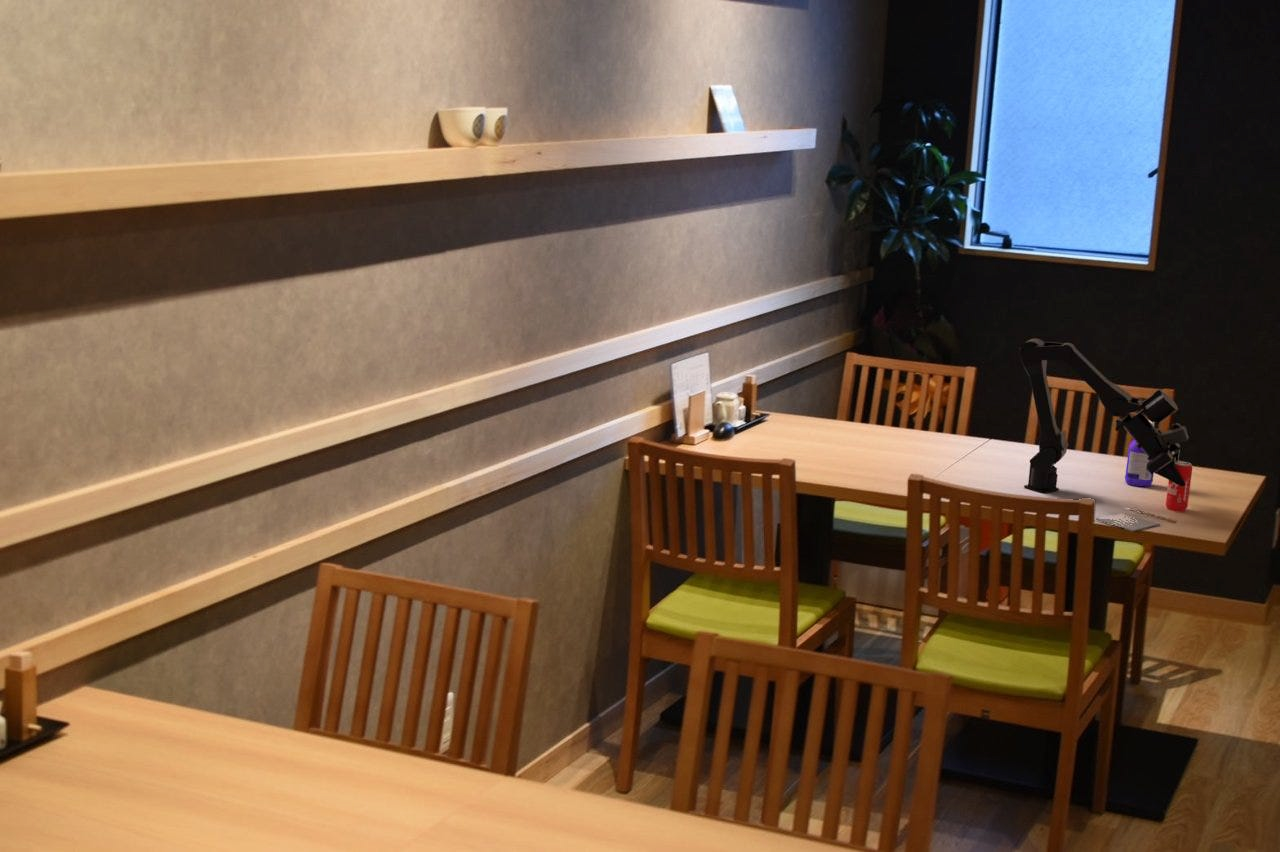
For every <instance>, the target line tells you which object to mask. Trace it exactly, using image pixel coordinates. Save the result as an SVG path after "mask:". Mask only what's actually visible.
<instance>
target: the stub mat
mask: <svg viewBox="0 0 1280 852" xmlns="http://www.w3.org/2000/svg"><path fill="white" fill-rule="evenodd" d="M1126 514H1127V513H1125V515H1126ZM1128 515H1130V516H1132V517H1131V518H1130V519H1132V520H1134V521H1132V520H1130V521H1132V522H1134V523H1131V522H1129V521H1128V520H1126V521H1128V522H1129V523H1127V522H1125V524H1123V523H1122V522H1124V521H1122V520H1121V519H1119V520H1121V521H1122V522H1120V521H1117V520H1113V519H1112V520H1110V519H1099V517H1095V518H1096V520H1098V521H1102V522H1105V523H1109V524H1113V523H1116V522H1114V521H1117V522H1120V523H1121V524H1122V525H1124V526H1122V525H1121V524H1119V523H1116V524H1117V526H1120V527H1122V528H1124V529H1123V530H1125V531H1129V532H1131V533H1134V532H1138V531H1141V530H1140V529H1142V530H1145V529H1144V528H1147V529H1149V528H1148V527H1151V528H1153V527H1152V526H1155V527H1159V526H1161V523H1160V522H1156V521H1152V520H1149V519H1145V518H1143V517H1139V516H1136V515H1131V514H1128ZM1128 515H1127V516H1128ZM1130 516H1129V517H1130ZM1125 517H1126V516H1125ZM1125 517H1124V518H1125ZM1129 517H1128V518H1129ZM1133 517H1135V518H1134V519H1133ZM1135 519H1136V520H1137V522H1138V523H1137V522H1135V521H1136V520H1135ZM1098 521H1097V522H1098ZM1105 523H1104V524H1105ZM1116 524H1113V525H1116ZM1126 524H1127V525H1126ZM1130 524H1132V525H1130ZM1128 525H1129V526H1128ZM1158 525H1159V526H1158Z"/></svg>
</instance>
